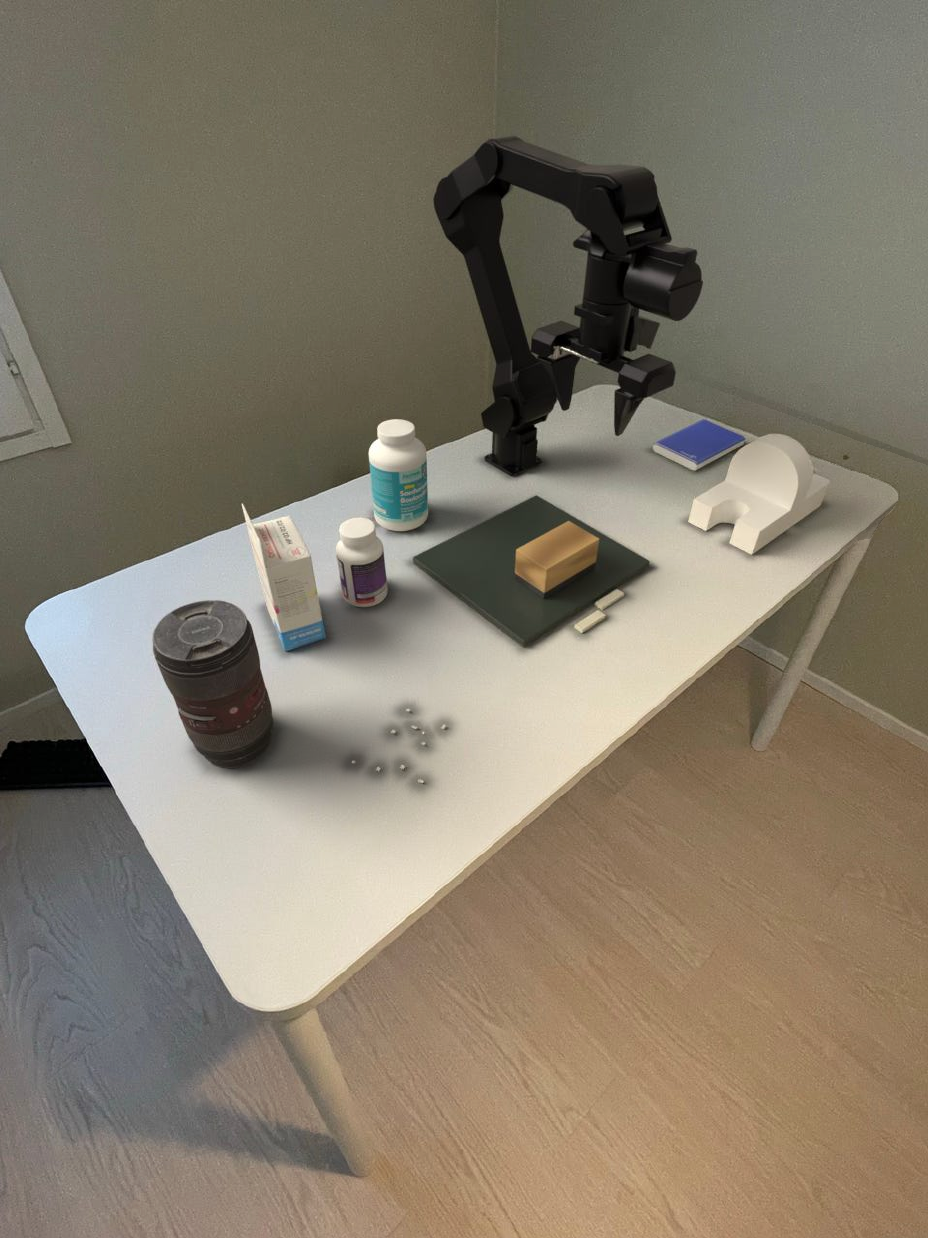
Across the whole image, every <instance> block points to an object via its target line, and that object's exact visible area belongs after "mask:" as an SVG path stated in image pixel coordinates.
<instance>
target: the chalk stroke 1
mask: <svg viewBox="0 0 928 1238" xmlns="http://www.w3.org/2000/svg"><path fill="white" fill-rule="evenodd" d="M605 618H606V614H605V613H603V612H602V610H601V611H600V609H597V610H595V611H594V612H593V613H591V614H589V615H588V616H586V617H585V618H583V619H581V620H580V621H579V622H577V623H575V624H574V629H575V630H577V631H578V632H580V633H581V634H583V633H584V632H586V631H588V630H590V629H591V628H593V627H594V626H595V625H597V624H598V623H600V622H601V621H603V620H604V619H605Z"/></svg>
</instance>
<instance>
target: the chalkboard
mask: <svg viewBox="0 0 928 1238" xmlns="http://www.w3.org/2000/svg"><path fill="white" fill-rule="evenodd" d="M567 521H570V522H572V523H573V524H575V525H577V526H578V527H580V528H582V529H584V530H585V531H587V532H589V533H590V534H592V535H594V536H595V537H597V538H599V545H598V551H597V558H596V563H595V568H594V569H593V570H591V571H589V572H588V573H586V574H584V575H583V576H581V577H579V578H578V579H576V580H575V581H573V582H571V583H570V584H568V585H566V586H565V587H563V588H561V589H560V590H558V591H557V592H555V593H553V594H552V595H550V596H548V597H547V598H545V599H543V598H541V597H540V596H538V595H537V594H535V593H534V592H532V591H531V590H530V589H528V588H527V587H525V586H524V585H522V584H521V583H519V582H518V581H517V580H515V561H516V549H518V548H520V547H522V546H524V545H525V544H527V543H529V542H531V541H533V540H534V539H536V538H538V537H540V536H542V535H544V534H545V533H547V532H549V531H551V530H553V529H555V528H556V527H558V526H560V525H562V524H564V523H566V522H567ZM650 562H651V561H650V560H649V559H647V558H645V557H643V556H642V555H640V554H639V553H637V552H635V551H633V550H632V549H630V548H628V547H626V546H625V545H623V544H621V543H619V542H618V541H616V540H615V539H613V538H611V537H609V536H608V535H605V534H604V533H602V532H600V531H599V530H597V529H595V528H594V527H592V526H590V525H589V524H588V523H585V522H584V521H581V520H580V519H578V518H576V517H575V516H573V515H571V514H570V513H568V512H567V511H564V510H563V509H561V508H560V507H558V506H556V505H554V504H552V503H551V502H549V501H547V500H545V499H544V498H542V497H541V496H539V495H537V494H536V495H534V496H532V497H530V498H528V499H526V500H524V501H522V502H520V503H518V504H516V505H514V506H512V507H510V508H508V509H506V510H504V511H501V512H500V513H498V514H496V515H494V516H492V517H490V518H488V519H486V520H484V521H482V522H480V523H478V524H476V525H474V526H471V527H470V528H468V529H466V530H464V531H462V532H460V533H458V534H456V535H454V536H452V537H450V538H448V539H447V540H444V541H442V542H440V543H438V544H437V545H434V546H432V547H430V548H428V549H427V550H424V551H422V552H420V553H418V554H417V555H415V556H412V564H414V565H415V566H416V567H417V568H418V569H420V570H421V571H423V573H425V574H426V575H428V576H429V577H430V578H431V579H433V580H434V581H436V582H437V583H438V584H440V585H441V586H442V587H444V588H445V589H446V590H447V591H449V592H450V593H451V594H453V595H454V597H457V598H458V599H460V601H462V602H463V603H464V604H465V605H467V606H469V608H471V609H472V610H474V611H475V612H476V613H478V614H479V615H480V616H481V617H483V618H484V619H485V620H487V621H488V622H489V623H491V625H493V626H494V627H496V628H497V629H498V630H499V631H501V632H502V633H504V634H505V635H506V636H508V637H509V638H510V639H511V640H513V641H514V642H515V643H517V644H518V645H519V646H521V647H522V648H526V647H527V646H528V645H530V644H531V643H533V642H534V641H536V640H538V639H539V638H540V637H542V636H543V635H546V634H547V633H548V632H550V631H552V630H553V629H554V628H556V627H558V626H559V625H561V624H563V623H564V622H565V621H567V620H569V619H570V618H572V617H573V616H575V615H576V614H577V613H579V612H581V611H582V610H584V609H586V608H587V607H589V606H590V605H592V604H593V603H594V604H595V602H597V601H598V600H600V599H601V598H603V597H605V596H606V595H608V594H609V593H611V592H612V591H614V590H616V589H618V587H620V586H622V585H623V584H625V583H626V582H628V581H629V580H631V579H633V578H634V577H636V576H638V575H639V574H640V573H642V572H643V571H645V570H647V569H648V568H649V567H650Z"/></svg>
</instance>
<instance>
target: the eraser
mask: <svg viewBox="0 0 928 1238" xmlns="http://www.w3.org/2000/svg"><path fill="white" fill-rule="evenodd" d="M598 545H599V538H597V537H595V536H594V535H592V534H590V533H589V532H587V531H585V530H584V529H582V528H580V527H578V526H577V525H575V524H573V523H572V522H570V521H567V522H566V523H564V524H562V525H560V526H558V527H556V528H555V529H553V530H551V531H549V532H547V533H545V534H544V535H542V536H540V537H538V538H536V539H534V540H533V541H531V542H529V543H527V544H525V545H524V546H522V547H520V548H518V549H516V561H515V580H517V581H518V582H519V583H521V584H522V585H524V586H525V587H527V588H528V589H530V590H531V591H532V592H534V593H535V594H537V595H538V596H540V597H541V598H543V599H545V598H547V597H548V596H550V595H552V594H553V593H555V592H557V591H558V590H560V589H561V588H563V587H565V586H566V585H568V584H570V583H571V582H573V581H575V580H576V579H578V578H579V577H581V576H583V575H584V574H586V573H588V572H589V571H591V570H593V569H594V568H595V563H596V558H597V551H598Z"/></svg>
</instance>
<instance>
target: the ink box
mask: <svg viewBox="0 0 928 1238" xmlns="http://www.w3.org/2000/svg"><path fill="white" fill-rule="evenodd" d="M241 508H242V511H243V515H244V519H245V523H246V528H247V532H248V537H249V540H250V545H251V548H252V553H253V557H254V560H255V565H256V570H257V573H258V577H259V580H260V585H261V588H262V593H263V597H264V602H265V605H266V609H267V611H268V614H269V616H270V618H271V621H272V624H273V626H274V629H275V631H276V633H277V636H278V638H279V640H280V644H281V645H282V647H283V651H284V652H289V651H292V650H294V649H297V648H300V647H303V646H306V645H310V644H312V643H316V642H318V641H321V640H325V639H326V638H327V637H326V631H325V627H324V621H323V616H322V615H323V614H322V610H321V605H320V600H319V599H320V598H319V594H318V589H317V588H318V587H317V582H316V578H315V577H316V576H315V572H314V565H313V560H312V555H311V553H310V551H309V548H308V547H307V544H306V543H305V541H304V539H303V538H302V535H301V534H300V532H299V530H298V527H297V525H296V524H295V522H294V520H293V518H292V516H291V515H286V516H282V517H279V518H274V519H271V520H270V519H269V520H265V521H262V522H258V523H254V524H253V521H252V519H251V517H250V516H249V513H248V511H247V509H246V506H245V504H244V503H241Z"/></svg>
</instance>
